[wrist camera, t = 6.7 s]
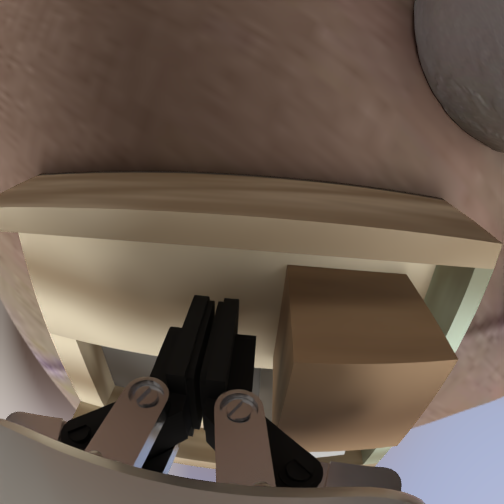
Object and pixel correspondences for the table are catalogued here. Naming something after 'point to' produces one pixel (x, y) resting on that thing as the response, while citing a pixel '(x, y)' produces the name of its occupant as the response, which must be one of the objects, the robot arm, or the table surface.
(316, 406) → the walnut block
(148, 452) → the robot arm
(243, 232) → the tray
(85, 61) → the table surface
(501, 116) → the pillar candle
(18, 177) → the table surface
